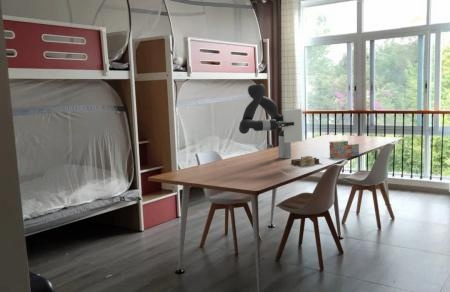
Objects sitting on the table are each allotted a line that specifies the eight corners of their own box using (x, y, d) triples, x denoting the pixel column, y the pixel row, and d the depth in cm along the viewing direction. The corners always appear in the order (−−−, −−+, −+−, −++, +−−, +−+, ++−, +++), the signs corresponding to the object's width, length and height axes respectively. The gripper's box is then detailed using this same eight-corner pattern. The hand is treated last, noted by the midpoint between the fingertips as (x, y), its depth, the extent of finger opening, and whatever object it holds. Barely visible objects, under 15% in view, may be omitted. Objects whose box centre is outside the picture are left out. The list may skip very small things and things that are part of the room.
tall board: (285, 142, 296) (284, 110, 293) (284, 142, 299) (283, 109, 296) (302, 141, 298) (301, 109, 295) (300, 140, 301) (300, 108, 298)
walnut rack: (295, 168, 292) (294, 162, 291) (289, 166, 304) (289, 159, 303) (323, 166, 295) (323, 160, 294) (317, 163, 307) (317, 157, 306)
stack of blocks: (354, 154, 337) (354, 139, 335) (359, 155, 331) (358, 139, 329) (329, 157, 331) (329, 141, 330) (333, 158, 325) (333, 142, 324)
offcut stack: (302, 166, 293) (301, 157, 292) (299, 164, 297) (299, 156, 297) (314, 165, 294) (314, 156, 293) (312, 163, 299) (312, 155, 298)
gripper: (270, 120, 287) (296, 118, 289) (265, 118, 301) (289, 117, 303) (271, 131, 288) (296, 129, 290) (266, 129, 302) (290, 128, 304)
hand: (293, 123), depth 297 cm, fingers closed on tall board, 3 cm apart
